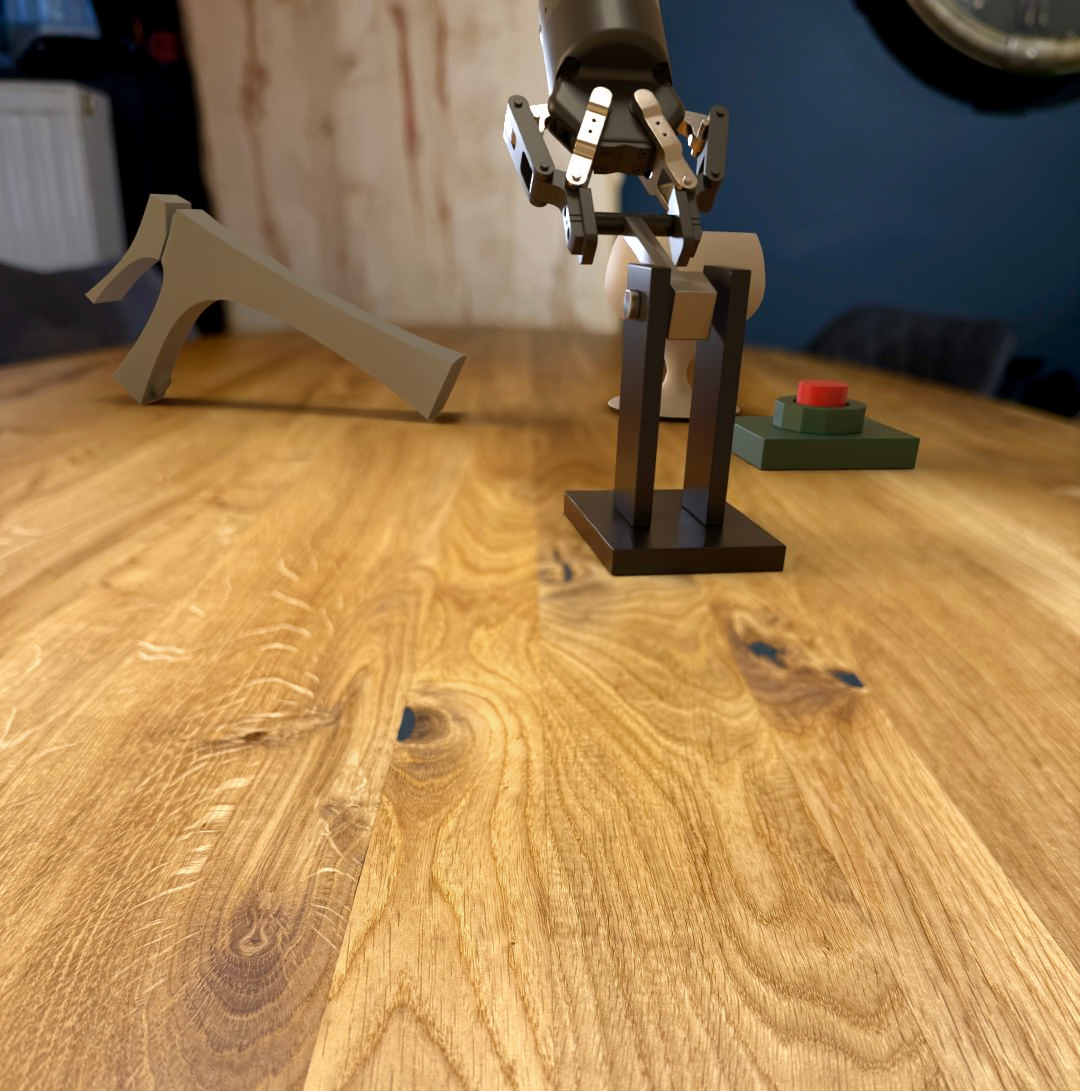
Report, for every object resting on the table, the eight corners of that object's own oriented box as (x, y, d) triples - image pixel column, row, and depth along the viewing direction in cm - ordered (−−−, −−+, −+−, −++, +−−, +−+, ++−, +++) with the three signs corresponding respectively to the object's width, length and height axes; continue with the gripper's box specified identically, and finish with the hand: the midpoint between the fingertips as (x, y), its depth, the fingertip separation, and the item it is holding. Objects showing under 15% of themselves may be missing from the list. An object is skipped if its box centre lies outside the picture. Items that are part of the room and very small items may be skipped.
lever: (584, 240, 61) (589, 197, 59) (666, 243, 62) (672, 200, 60) (639, 339, 51) (647, 290, 49) (735, 341, 52) (745, 292, 50)
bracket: (563, 512, 61) (573, 258, 55) (707, 509, 63) (733, 262, 57) (611, 575, 51) (631, 270, 45) (783, 570, 52) (824, 275, 46)
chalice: (571, 401, 98) (579, 226, 92) (696, 395, 104) (711, 231, 97) (645, 427, 87) (660, 230, 80) (781, 420, 92) (805, 235, 86)
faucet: (393, 517, 96) (98, 357, 94) (469, 352, 89) (151, 172, 86) (374, 536, 91) (61, 365, 88) (454, 361, 83) (114, 169, 81)
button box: (859, 443, 84) (868, 392, 82) (915, 468, 76) (925, 412, 74) (718, 444, 81) (724, 392, 80) (760, 470, 74) (767, 412, 72)
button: (832, 403, 79) (836, 379, 78) (853, 411, 76) (857, 386, 75) (788, 403, 78) (791, 379, 77) (807, 411, 75) (811, 386, 74)
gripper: (493, -34, 60) (522, 201, 54) (730, -18, 62) (779, 208, 57) (481, 82, 67) (506, 299, 62) (694, 92, 69) (735, 302, 64)
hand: (637, 254), depth 59 cm, fingers closed on lever, 5 cm apart
